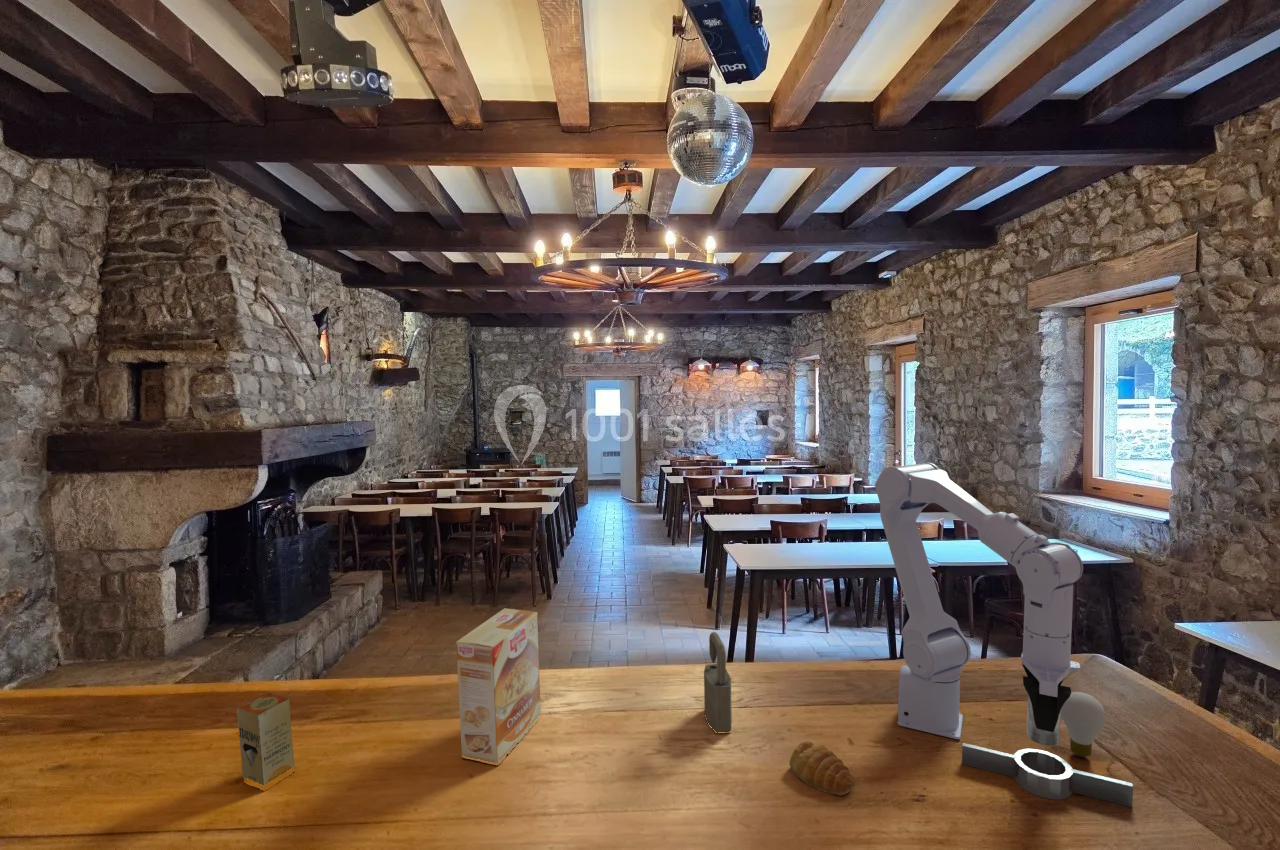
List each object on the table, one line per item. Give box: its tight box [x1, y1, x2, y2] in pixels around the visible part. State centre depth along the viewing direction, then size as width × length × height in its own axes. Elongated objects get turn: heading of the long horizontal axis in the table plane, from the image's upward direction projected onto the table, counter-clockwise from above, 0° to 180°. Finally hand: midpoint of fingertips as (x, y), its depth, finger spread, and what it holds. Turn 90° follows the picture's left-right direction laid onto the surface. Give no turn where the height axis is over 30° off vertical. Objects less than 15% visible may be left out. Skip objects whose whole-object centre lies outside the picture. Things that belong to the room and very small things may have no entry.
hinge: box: [961, 742, 1134, 808], centre depth 93 cm, size 21×7×3 cm, turn 60°
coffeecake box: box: [455, 607, 542, 763], centre depth 107 cm, size 15×7×20 cm, turn 161°
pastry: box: [789, 740, 855, 797], centre depth 95 cm, size 9×7×4 cm
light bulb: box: [1060, 691, 1107, 759], centre depth 99 cm, size 6×6×10 cm
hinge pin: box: [1026, 694, 1061, 747], centre depth 92 cm, size 4×4×7 cm
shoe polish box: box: [236, 692, 295, 785], centre depth 98 cm, size 5×5×12 cm
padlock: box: [703, 631, 733, 733], centre depth 111 cm, size 4×8×15 cm, turn 6°
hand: (1043, 721), depth 92 cm, fingers closed on hinge pin, 4 cm apart
